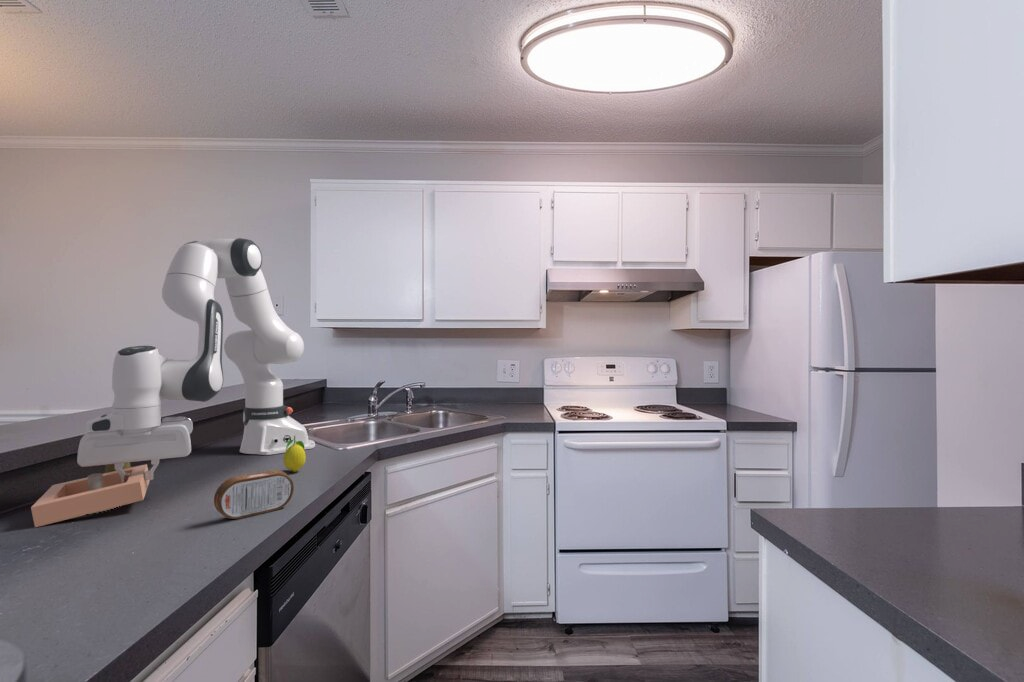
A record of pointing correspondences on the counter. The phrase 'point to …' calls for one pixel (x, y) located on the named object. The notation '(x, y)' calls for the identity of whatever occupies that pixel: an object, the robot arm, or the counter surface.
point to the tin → (253, 494)
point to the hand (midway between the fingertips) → (137, 480)
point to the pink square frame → (89, 496)
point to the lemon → (294, 455)
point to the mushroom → (96, 484)
